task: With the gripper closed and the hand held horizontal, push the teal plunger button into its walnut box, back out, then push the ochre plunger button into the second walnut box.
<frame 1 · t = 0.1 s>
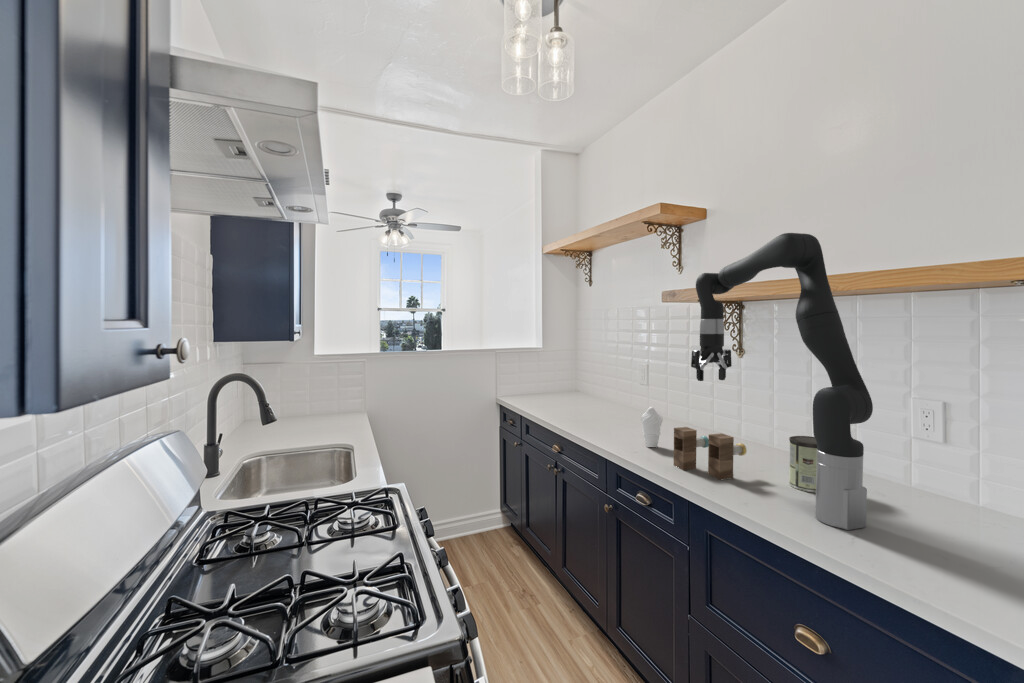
hand: (711, 380, 153), 29 cm above the worktop, tool pointing down, fingers open, 8 cm apart
walnut box A: (720, 476, 143), on the worktop
coffee can: (808, 487, 134), on the worktop
ochre button: (733, 450, 144), point 8 cm above the worktop, slide at 0.0 cm
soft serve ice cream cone: (651, 447, 178), on the worktop
teal button: (696, 442, 153), point 8 cm above the worktop, slide at 0.0 cm
walnut box B: (684, 467, 153), on the worktop
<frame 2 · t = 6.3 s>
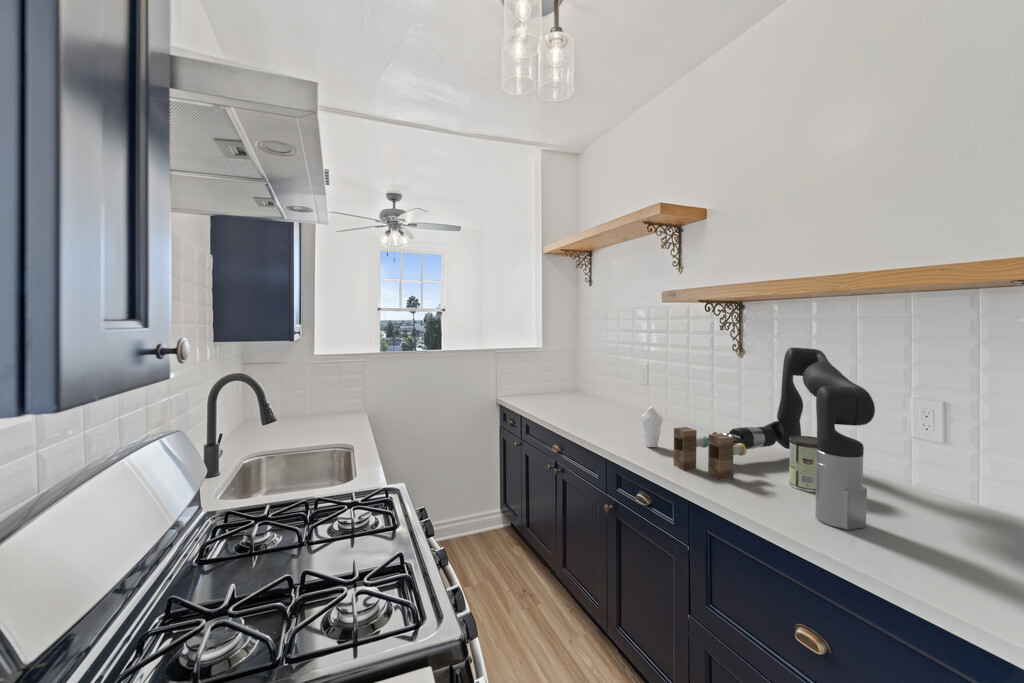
hand: (705, 442, 154), 8 cm above the worktop, tool horizontal, fingers closed
teal button: (696, 442, 153), point 8 cm above the worktop, slide at 0.1 cm, touching gripper
everything else where it was.
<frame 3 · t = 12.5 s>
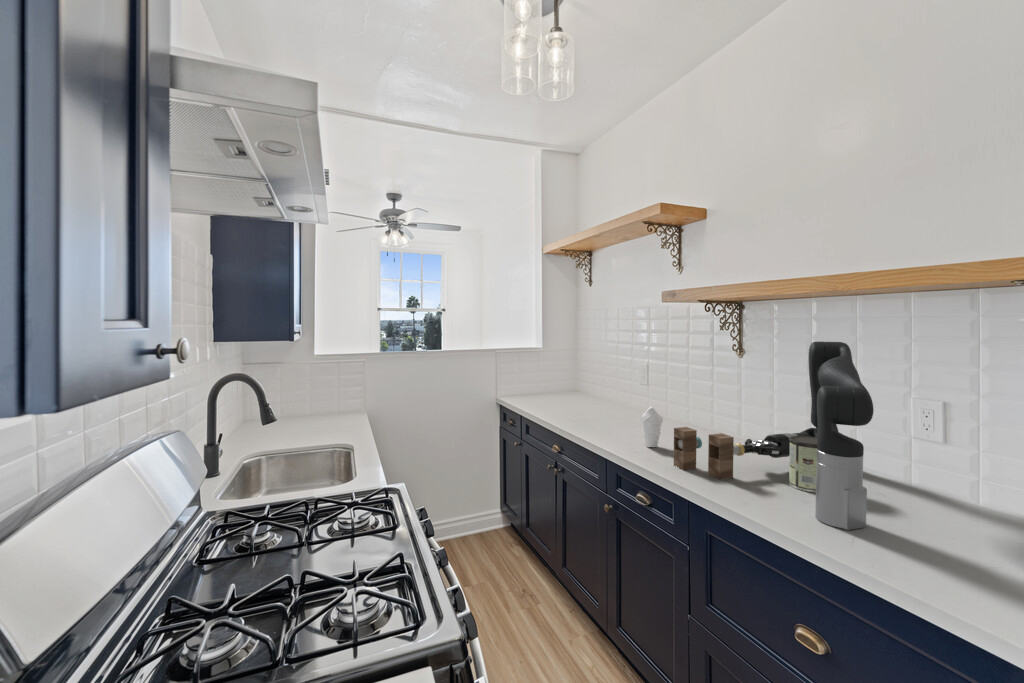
hand: (740, 449, 145), 8 cm above the worktop, tool horizontal, fingers closed
ochre button: (731, 450, 144), point 8 cm above the worktop, slide at 0.7 cm, touching gripper
teal button: (689, 443, 153), point 8 cm above the worktop, slide at 2.9 cm
everything else where it was.
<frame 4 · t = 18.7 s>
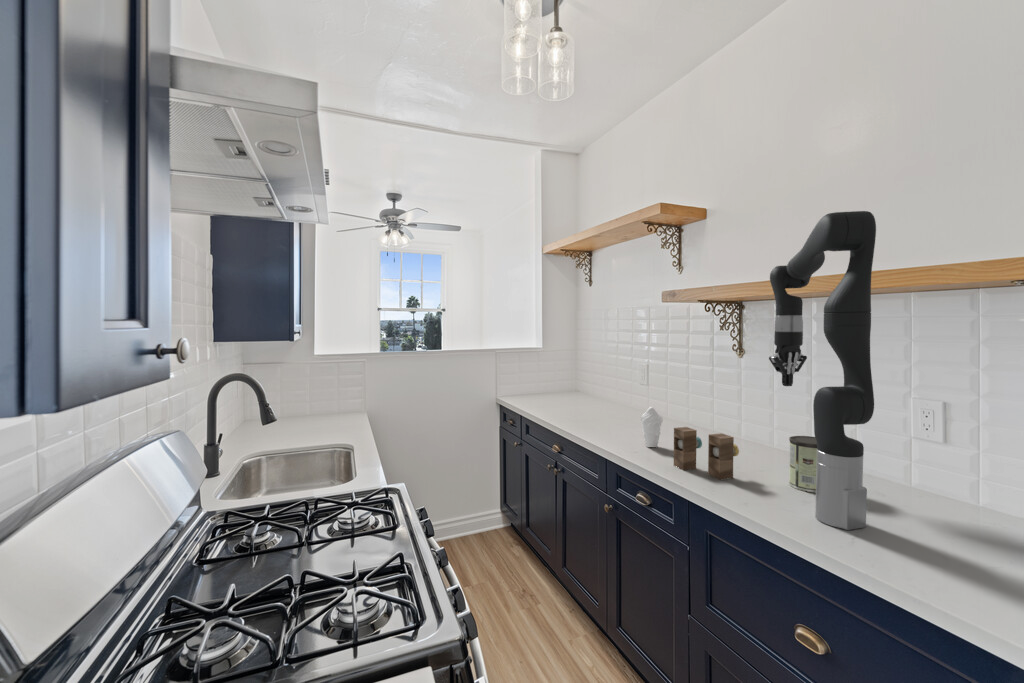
hand: (787, 385, 140), 29 cm above the worktop, tool pointing down, fingers closed
ochre button: (725, 450, 143), point 8 cm above the worktop, slide at 2.9 cm
everything else where it was.
at the end: teal button slide at 2.9 cm; ochre button slide at 2.9 cm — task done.
